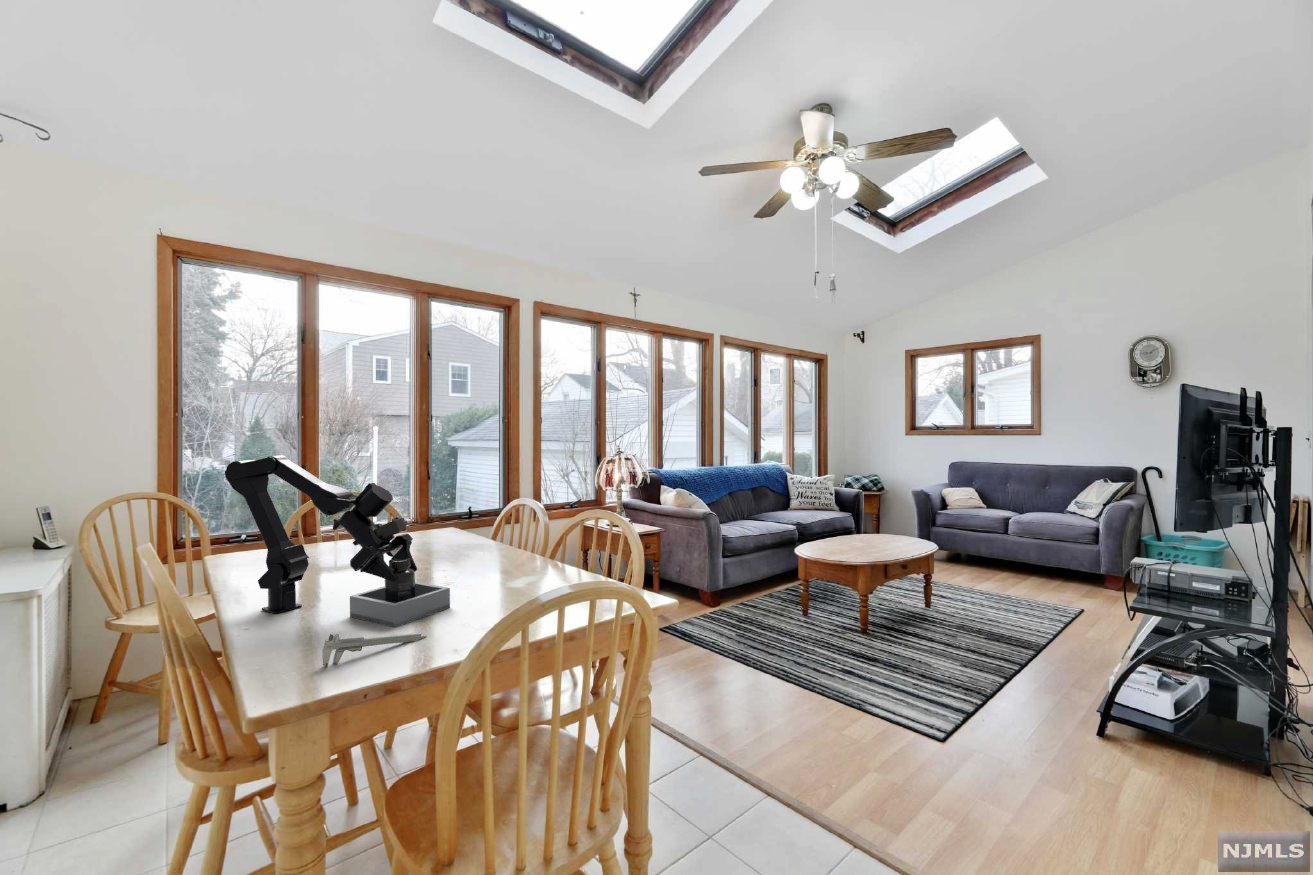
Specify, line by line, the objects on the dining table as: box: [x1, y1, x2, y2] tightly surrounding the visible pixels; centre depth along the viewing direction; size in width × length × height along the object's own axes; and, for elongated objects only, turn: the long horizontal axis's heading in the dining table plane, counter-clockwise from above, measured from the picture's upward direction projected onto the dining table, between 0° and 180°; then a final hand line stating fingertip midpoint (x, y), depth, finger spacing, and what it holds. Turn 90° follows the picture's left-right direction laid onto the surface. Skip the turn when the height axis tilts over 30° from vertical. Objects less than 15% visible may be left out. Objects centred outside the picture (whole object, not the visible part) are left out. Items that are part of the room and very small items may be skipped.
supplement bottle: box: [384, 558, 416, 603], centre depth 140 cm, size 7×7×12 cm
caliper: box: [322, 632, 427, 668], centre depth 116 cm, size 20×1×6 cm, turn 141°
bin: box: [349, 581, 451, 628], centre depth 140 cm, size 16×16×5 cm
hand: (406, 575), depth 140 cm, fingers open, 9 cm apart
